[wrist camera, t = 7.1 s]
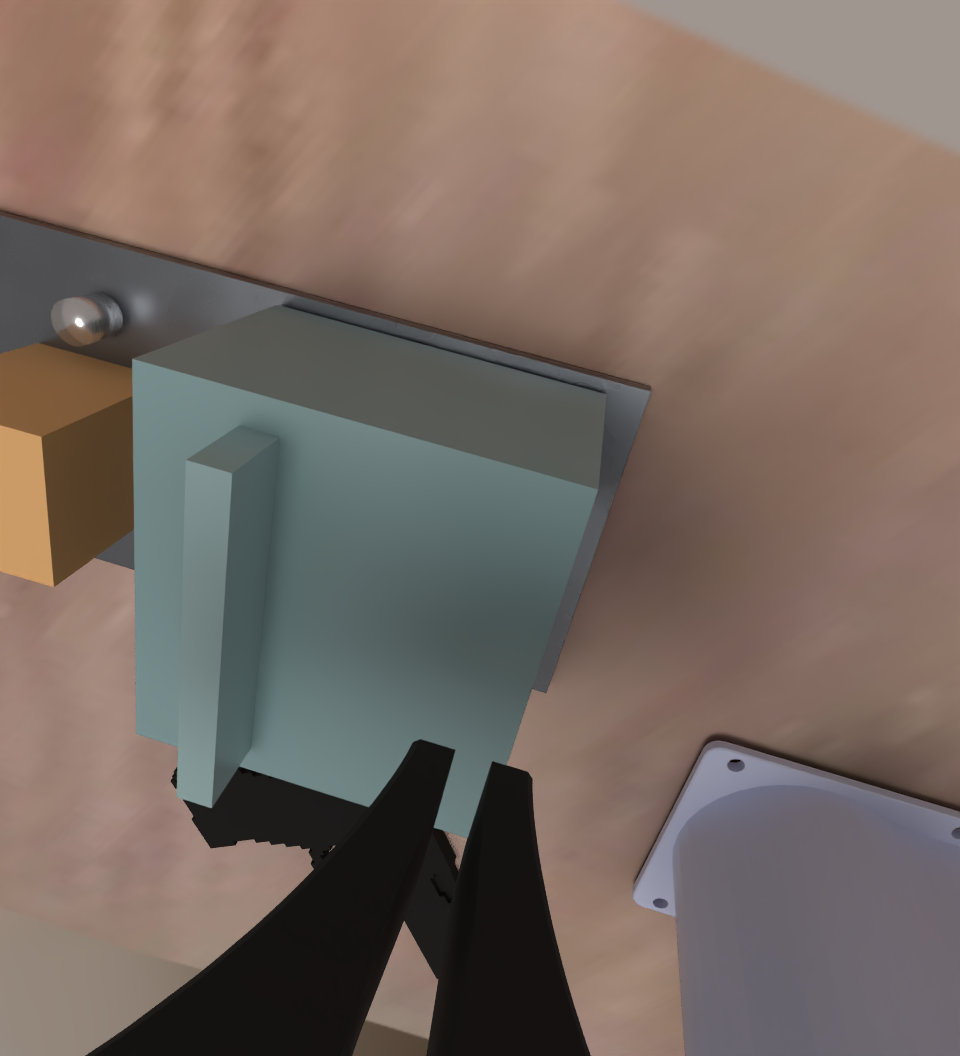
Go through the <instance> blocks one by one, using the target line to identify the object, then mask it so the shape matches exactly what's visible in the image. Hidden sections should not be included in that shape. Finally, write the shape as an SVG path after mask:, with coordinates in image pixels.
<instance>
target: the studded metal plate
mask: <svg viewBox="0 0 960 1056" xmlns="http://www.w3.org/2000/svg"><path fill="white" fill-rule="evenodd" d="M275 305H280V306H284V307H288V308H291V309H295V310H299V311H302V312H306V313H310V314H313V315H317V316H321V317H324V318H328V319H332V320H335V321H339V322H343V323H346V324H350V325H354V326H357V327H361V328H365V329H368V330H372V331H376V332H379V333H383V334H387V335H390V336H394V337H398V338H401V339H405V340H409V341H412V342H416V343H420V344H423V345H427V346H431V347H435V348H438V349H442V350H446V351H449V352H453V353H457V354H460V355H464V356H468V357H471V358H475V359H479V360H482V361H486V362H490V363H493V364H497V365H501V366H504V367H508V368H512V369H515V370H519V371H523V372H526V373H530V374H534V375H537V376H541V377H545V378H548V379H552V380H556V381H559V382H563V383H567V384H570V385H574V386H578V387H581V388H585V389H589V390H592V391H596V392H600V393H603V394H607V397H606V408H605V420H604V431H603V442H602V454H601V465H600V476H599V487H598V492H597V495H596V498H595V501H594V504H593V507H592V510H591V513H590V516H589V519H588V522H587V525H586V528H585V531H584V534H583V537H582V540H581V543H580V546H579V549H578V552H577V555H576V558H575V561H574V564H573V567H572V570H571V573H570V576H569V579H568V582H567V585H566V588H565V591H564V594H563V597H562V600H561V603H560V606H559V609H558V612H557V615H556V618H555V621H554V624H553V627H552V630H551V633H550V636H549V639H548V642H547V645H546V648H545V651H544V654H543V657H542V660H541V663H540V666H539V669H538V672H537V675H536V678H535V681H534V684H533V687H532V689H534V690H537V691H540V692H544V693H547V690H548V687H549V684H550V681H551V678H552V675H553V672H554V670H555V667H556V664H557V661H558V658H559V655H560V652H561V649H562V646H563V644H564V641H565V638H566V635H567V632H568V629H569V626H570V623H571V621H572V618H573V615H574V612H575V609H576V606H577V603H578V600H579V598H580V595H581V592H582V589H583V586H584V583H585V580H586V577H587V574H588V572H589V569H590V566H591V563H592V560H593V557H594V554H595V551H596V549H597V546H598V543H599V540H600V537H601V534H602V531H603V528H604V525H605V523H606V520H607V517H608V514H609V511H610V508H611V505H612V502H613V500H614V497H615V494H616V491H617V488H618V485H619V482H620V479H621V477H622V474H623V471H624V468H625V465H626V462H627V459H628V456H629V453H630V451H631V448H632V445H633V442H634V439H635V436H636V433H637V430H638V428H639V425H640V422H641V419H642V416H643V413H644V410H645V407H646V404H647V402H648V399H649V396H650V393H651V388H650V386H646V385H643V384H639V383H635V382H632V381H628V380H624V379H621V378H617V377H613V376H610V375H606V374H602V373H598V372H595V371H591V370H587V369H584V368H580V367H576V366H573V365H569V364H565V363H561V362H558V361H554V360H550V359H547V358H543V357H539V356H536V355H532V354H528V353H525V352H521V351H517V350H513V349H510V348H506V347H502V346H499V345H495V344H491V343H488V342H484V341H480V340H476V339H473V338H469V337H465V336H462V335H458V334H454V333H451V332H447V331H443V330H440V329H436V328H432V327H428V326H425V325H421V324H417V323H414V322H410V321H406V320H403V319H399V318H395V317H391V316H388V315H384V314H380V313H377V312H373V311H369V310H366V309H362V308H358V307H355V306H351V305H347V304H343V303H340V302H336V301H332V300H329V299H325V298H321V297H318V296H314V295H310V294H306V293H303V292H299V291H295V290H292V289H288V288H284V287H281V286H277V285H273V284H270V283H266V282H262V281H258V280H255V279H251V278H247V277H244V276H240V275H236V274H233V273H229V272H225V271H221V270H218V269H214V268H210V267H207V266H203V265H199V264H196V263H192V262H188V261H185V260H181V259H177V258H173V257H170V256H166V255H162V254H159V253H155V252H151V251H148V250H144V249H140V248H136V247H133V246H129V245H125V244H122V243H118V242H114V241H111V240H107V239H103V238H100V237H96V236H92V235H88V234H85V233H81V232H77V231H74V230H70V229H66V228H63V227H59V226H55V225H51V224H48V223H44V222H40V221H37V220H33V219H29V218H26V217H22V216H18V215H15V214H11V213H7V212H3V211H0V354H2V353H5V352H9V351H12V350H15V349H19V348H22V347H26V346H29V345H33V344H36V343H40V344H44V345H48V346H51V347H55V348H58V349H62V350H66V351H69V352H73V353H77V354H80V355H84V356H88V357H91V358H95V359H99V360H102V361H106V362H110V363H113V364H117V365H121V366H124V367H128V368H131V369H132V359H133V358H136V357H138V356H141V355H144V354H146V353H149V352H152V351H154V350H157V349H160V348H162V347H165V346H168V345H171V344H173V343H176V342H179V341H181V340H184V339H187V338H189V337H192V336H195V335H197V334H200V333H203V332H205V331H208V330H211V329H213V328H216V327H219V326H221V325H224V324H227V323H229V322H232V321H235V320H237V319H240V318H243V317H246V316H248V315H251V314H254V313H256V312H259V311H262V310H264V309H267V308H270V307H272V306H275ZM95 558H97V559H100V560H103V561H107V562H110V563H113V564H117V565H120V566H123V567H127V568H130V569H133V570H135V566H134V530H132V531H131V532H130V533H128V534H127V535H125V536H124V537H123V538H121V539H120V540H118V541H117V542H116V543H114V544H113V545H112V546H110V547H109V548H107V549H106V550H105V551H103V552H102V553H100V554H99V555H98V556H96V557H95Z"/></svg>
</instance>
